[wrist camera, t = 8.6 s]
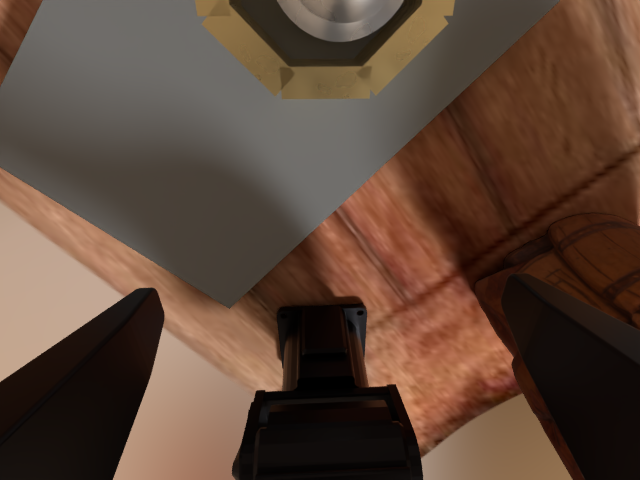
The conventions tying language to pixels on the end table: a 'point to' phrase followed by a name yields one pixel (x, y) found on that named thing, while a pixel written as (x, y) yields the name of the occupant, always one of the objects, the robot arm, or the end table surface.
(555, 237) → the wooden figurine
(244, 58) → the brass ring
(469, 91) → the end table surface
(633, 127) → the end table surface
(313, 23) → the silver calibration weight
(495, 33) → the mat
